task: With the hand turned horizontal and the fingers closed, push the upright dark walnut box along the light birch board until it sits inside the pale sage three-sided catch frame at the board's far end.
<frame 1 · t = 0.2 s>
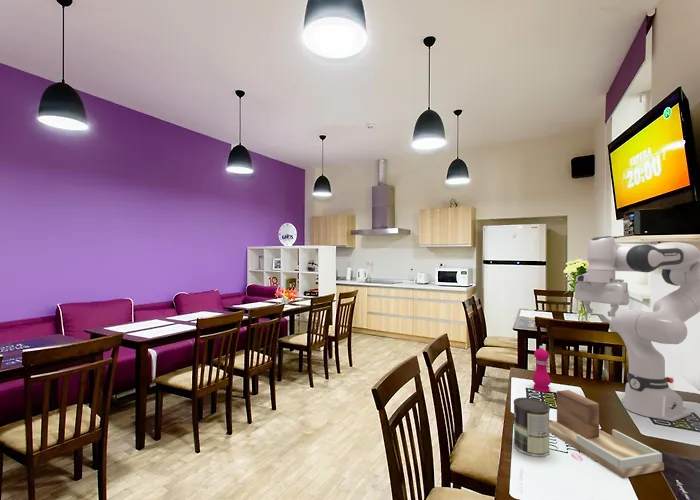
hand: (599, 314, 136), 39 cm above the table, tool pointing down, fingers open, 8 cm apart
coffee can: (531, 448, 115), on the table
birch board: (597, 446, 115), on the table
pepper mill: (541, 390, 163), on the table
walnut box: (577, 429, 123), point 2 cm above the table, touching birch board
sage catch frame: (616, 451, 109), resting on birch board
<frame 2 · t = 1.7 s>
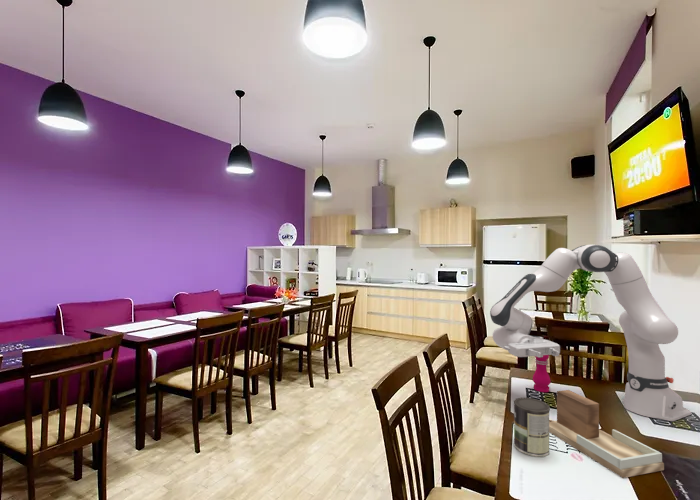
hand: (549, 354, 134), 24 cm above the table, tool horizontal, fingers open, 6 cm apart
nothing on the table moved.
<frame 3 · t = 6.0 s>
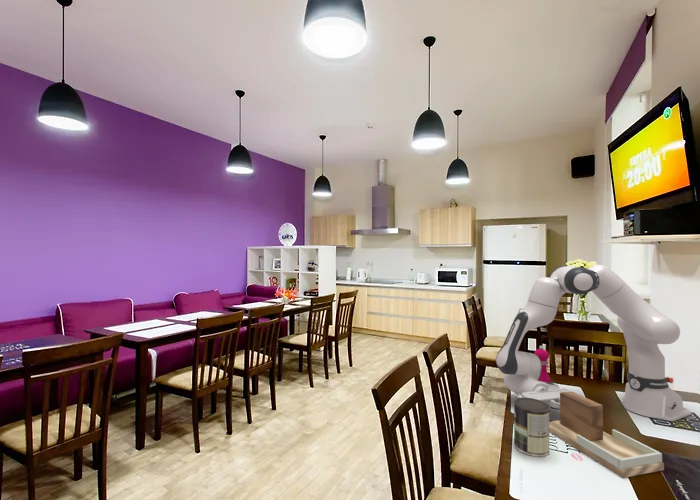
hand: (565, 407, 127), 7 cm above the table, tool horizontal, fingers closed, pressing on walnut box
walnut box: (580, 431, 121), point 2 cm above the table, touching gripper
everything else where it was.
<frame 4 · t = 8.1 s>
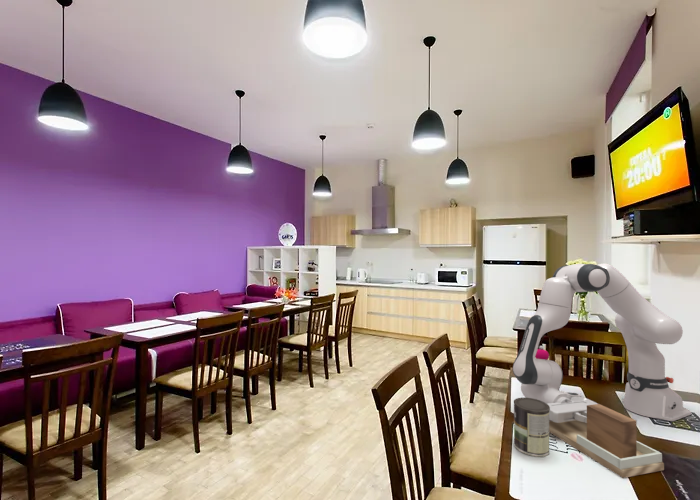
hand: (593, 421, 117), 8 cm above the table, tool horizontal, fingers closed, pressing on walnut box
walnut box: (610, 448, 111), point 2 cm above the table, touching gripper
everything else where it was.
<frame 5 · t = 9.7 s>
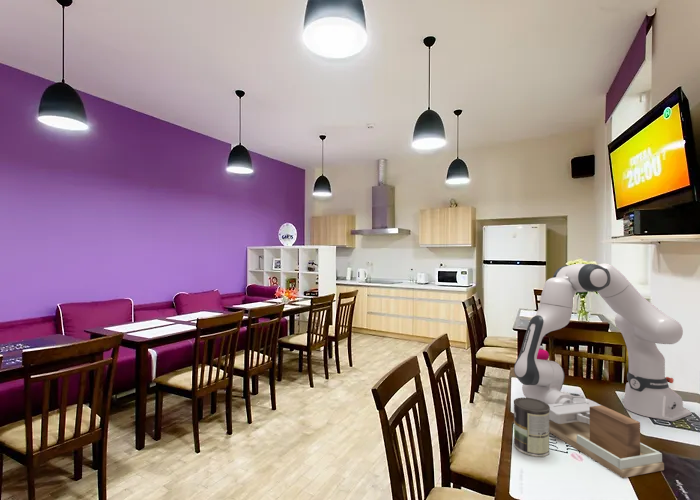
hand: (595, 422, 116), 8 cm above the table, tool horizontal, fingers closed
walnut box: (613, 450, 110), point 2 cm above the table, touching birch board
everything else where it was.
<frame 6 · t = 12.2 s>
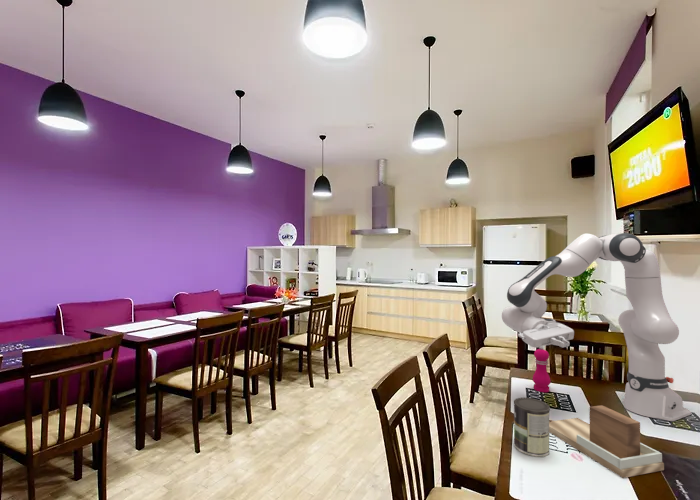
hand: (566, 345, 131), 29 cm above the table, tool horizontal, fingers closed
nothing on the table moved.
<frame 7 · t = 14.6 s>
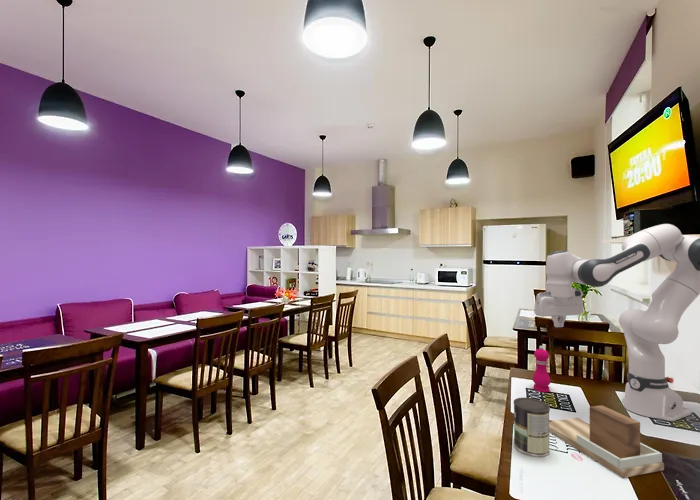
hand: (558, 326, 141), 33 cm above the table, tool pointing down, fingers closed
nothing on the table moved.
at the end: walnut box inside the target area (1.2 cm from its centre), point 2.0 cm above the table; walnut box tilted 0°; walnut box moved 13.3 cm from its start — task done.
